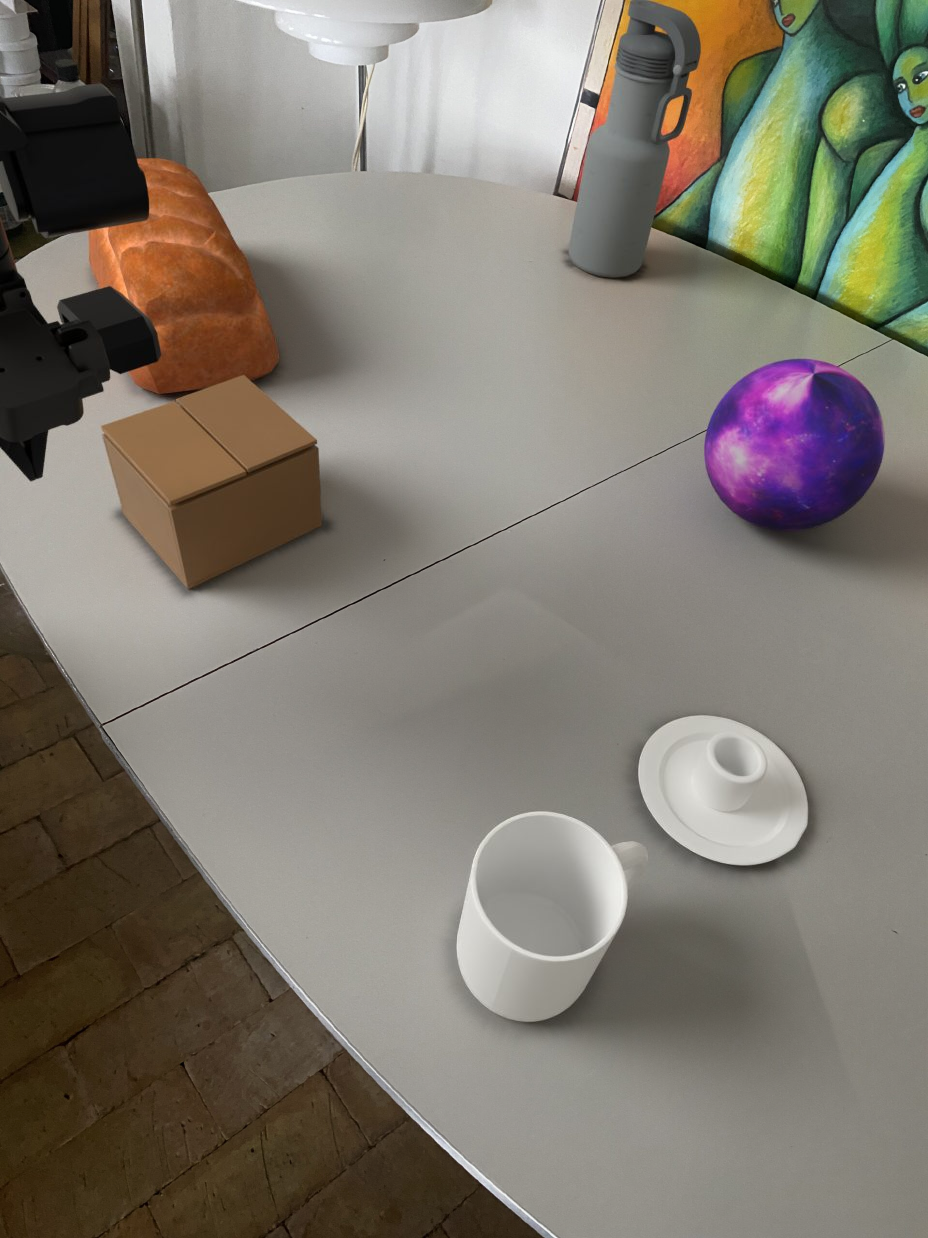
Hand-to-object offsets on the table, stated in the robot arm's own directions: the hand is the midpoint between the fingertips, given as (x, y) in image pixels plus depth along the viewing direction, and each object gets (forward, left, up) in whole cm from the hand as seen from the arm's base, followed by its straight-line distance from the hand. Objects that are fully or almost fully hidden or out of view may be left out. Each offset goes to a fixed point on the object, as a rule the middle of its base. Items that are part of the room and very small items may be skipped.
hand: (33, 476), depth 58 cm
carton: (+10, +10, -13) cm, 19 cm away
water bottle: (+54, +60, -13) cm, 82 cm away
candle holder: (+47, -18, -13) cm, 52 cm away
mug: (+33, -28, -13) cm, 45 cm away
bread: (+2, +44, -13) cm, 46 cm away
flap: (+7, +8, -4) cm, 12 cm away
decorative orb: (+60, +12, -13) cm, 63 cm away
